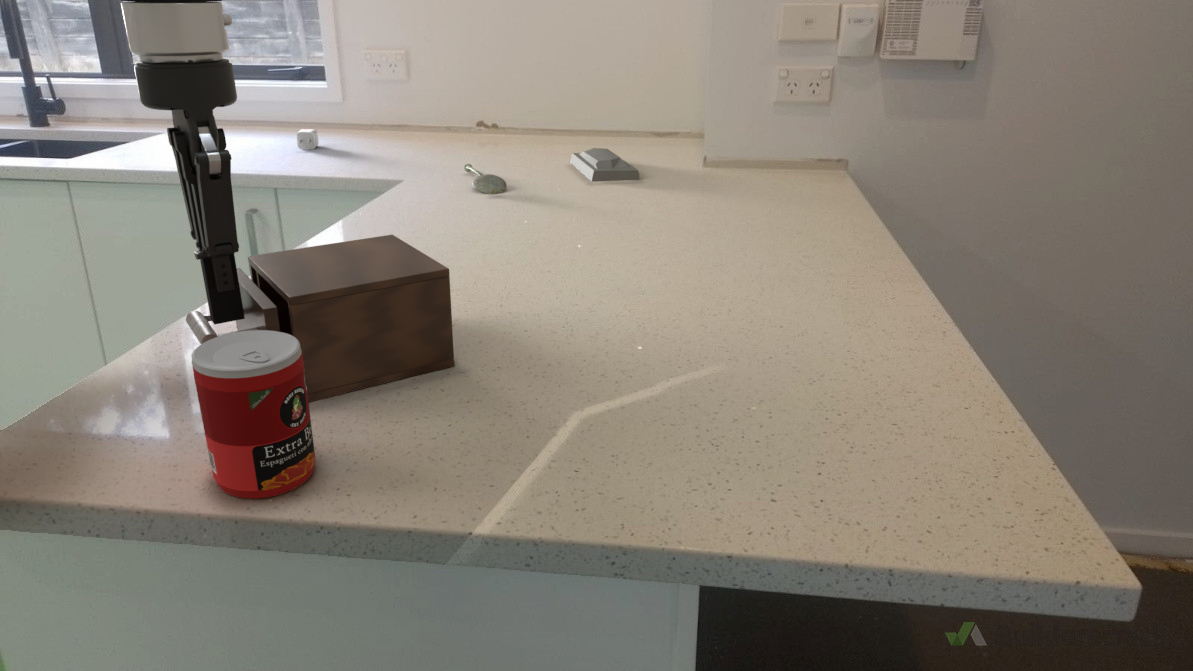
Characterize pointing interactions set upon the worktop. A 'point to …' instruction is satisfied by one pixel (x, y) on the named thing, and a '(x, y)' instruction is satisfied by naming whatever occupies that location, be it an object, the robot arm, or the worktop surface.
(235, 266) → the robot arm
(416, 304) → the cabinet
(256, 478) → the canned food
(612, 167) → the grey flat stepped block
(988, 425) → the worktop surface
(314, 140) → the usb wall charger
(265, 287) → the drawer
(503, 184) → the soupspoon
